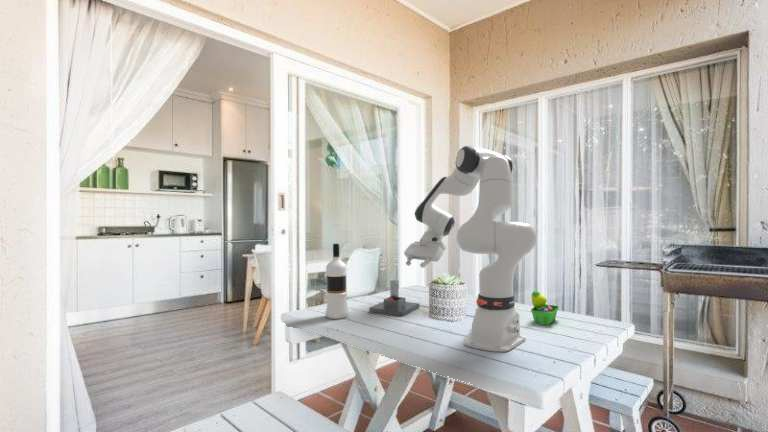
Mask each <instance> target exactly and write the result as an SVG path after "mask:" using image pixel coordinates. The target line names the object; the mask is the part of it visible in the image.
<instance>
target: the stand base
mask: <svg viewBox="0 0 768 432" xmlns="http://www.w3.org/2000/svg"><path fill="white" fill-rule="evenodd" d="M406 300H407V299H406V297H402V296H399V300H394V298H390V296H389V297H386V298H384V299H383V301H381V302H378V303H377V304H375V305H372V306H369V307H368V308H369V309H368V311H369V313H373V314H379V315H387V316H394V317H395V316H396V317H405V316H406V315H408V314H411V313H412V311H413V312H415V311H416V310H418V309H420V303H419V302H410V301H409V302H408V301H406ZM410 312H411V313H410Z"/></svg>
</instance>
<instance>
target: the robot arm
mask: <svg viewBox="0 0 768 432" xmlns="http://www.w3.org/2000/svg"><path fill="white" fill-rule="evenodd" d="M513 169H514V168H513V161H512V159H511V157H509V156H507V155H506V154H503V153H502V154H501V153H499V152H495V151H492V150H490V149H487V148H481V147H475V146H473V145H468V146H467V145H464V146H462V147H461V148H460V149H459V150H458V152H457V155H456V158H455V168H454V170H453V172H452V173H451V174H450V175H448V176H443V177H442V178H440V179H439V180H438V181H437V183H436V184H435V185H434V187H432V189H431V191H430V192H429V193H428V194H427V196H426V197H425V198H424V199H423V200H422V202H420V203H419V204H418V205H417V207H416V208H415V211H414V216H415V219H416V221H418V222H419V223H422V224H424V225H426V226H427V227H428V228H427V230H426V231H424V233H423V234H422V235H421V237H420V239H419V241H414V242H411V243H410V244H409V245H408V246H407V248H406V249H404V253H403V254H404V256H405V257H406V262H405V265H406V266H411V264H412V262H411V261H413V260H420V261H423V262H421V263H420V265H419V266H420V268H423V269H424V268H426V266H428V264H430V263H431V262H438V261H440V259H441V257H443V254H444V252H445V251H446V250H447V247H446V246H445V244H444V242H443V241H442V239H444V238H445V237H446V236H448V235H450V232H451V231H452V229H454V227H455V223H456V221H455V218H454V216H453V215H452V214H450V213H449V212H447V211H445V210H443V209H441V208H440V207H438V206H436V205H435V204H434V202H435V201H436V199H437V198H438V197H439V195H452V196H456V197H457V196H458V197H462V196H467V195H470V194H471V193H472V192H473V190H474V189H475V188H476V186H477V185H478V183H479V194H478V204H477V207H476V209H475V212H474V213H473V214H472V216H471V217H470V218H469V219H468V220H467V221H466V222H464V223H463V224H461V225H460V227H459V229H458V231H457V233H456V241H457V244H458V246H459V248H460V249H461V250H462V251H463V252H467V253H471V254H475V255H479V254H480V255H489V254H490V255H497V256H498V257H497V259H496V260H495V261H494V262H492V263H490V264H487V265H486V266H484V267H482V268H481V270H480V271H479V273H478V274H479V275H478V276H479V277H478V279H479V281H478V283H479V285H478V287H479V288H478V289H479V290H478V291H479V293H478V295H477V299H476V301H475V302H476V306H477V307H476V308H475V312H474V315H473V319H472V323H471V328H470V329H469V330H468V332H467V335H466V338H465V339H464V342H463V343H464V346H466V347H469V348H472V349H478V350H484V351H491V352H508V351H510V350H512V349H513V348H516V347H518V345H520V344H521V343H523V342H525V341H526V336H525V335H523V334H521V322H520V321H521V319H520V313H519V312H518V311H517V310H516V308H515V302H516V299H515V294H514V278H515V271H516V268H517V266H518V265H519V263H520V261H521V260H522V259H523V258H524V257H525V256H526V255H527V254H529V253H531V251H532V250H533V249H534V248H535V246H536V243H537V234H536V232H535V229H534V228H533V227H532V225H531V224H529V223H525V222H519V221H495V219H496V218H497V217H499V216H500V215H502V214H505V213H506V212H507V211H509V210H510V208H511V207H512V204H513V190H512V189H513V183H512V182H513V181H512V180H513V179H512V172H513Z"/></svg>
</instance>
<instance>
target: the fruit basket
mask: <svg viewBox="0 0 768 432" xmlns="http://www.w3.org/2000/svg"><path fill="white" fill-rule="evenodd" d="M547 301H548V299H547V297H546V296H544V295H543V294H542V293H541V292H539V291H537V290H534V291H532V293H531V303H532V306H533V307H532V308H531V309H530V311H531V314H532V317H533V321H534V323H535V324H541V325H542V324H543V325H548V326H549V325H550V324H551V323H552V322H554V321H555V320H556V317H557V313H558V310H559V308H560V307H559V306H558V305H551V304H547Z"/></svg>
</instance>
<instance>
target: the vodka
mask: <svg viewBox="0 0 768 432" xmlns="http://www.w3.org/2000/svg"><path fill="white" fill-rule="evenodd" d="M347 267H348V266H347V264H346V263H345V262H343V261H342V260H341V259H340V244H339V243H333V244H332V260H331V261H329V262H328V263H327V264H326V268H325V270H326V273H325V274H326V310H325V316H326V317H327V318H328V319H329V320H342V319H345V318H347V317H349V312H350V311H349V308H348V295H347V294H348V291H347V275H348V274H347V269H348V268H347Z"/></svg>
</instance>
